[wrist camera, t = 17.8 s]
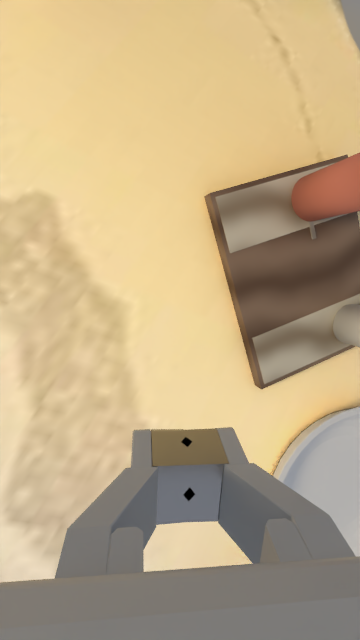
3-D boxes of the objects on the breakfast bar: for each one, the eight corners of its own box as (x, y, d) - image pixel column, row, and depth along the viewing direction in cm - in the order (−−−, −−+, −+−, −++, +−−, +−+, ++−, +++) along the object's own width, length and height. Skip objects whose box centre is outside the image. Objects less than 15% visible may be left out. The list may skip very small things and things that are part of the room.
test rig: (204, 196, 35) (221, 186, 31) (337, 158, 39) (369, 145, 35) (255, 385, 40) (275, 398, 36) (367, 334, 44) (398, 340, 40)
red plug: (283, 178, 35) (370, 137, 25) (326, 165, 37) (426, 122, 26) (294, 231, 37) (382, 214, 26) (335, 217, 38) (435, 196, 27)
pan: (418, 501, 53) (450, 522, 48) (217, 655, 45) (232, 698, 41) (381, 363, 46) (413, 373, 42) (137, 516, 38) (145, 548, 34)
